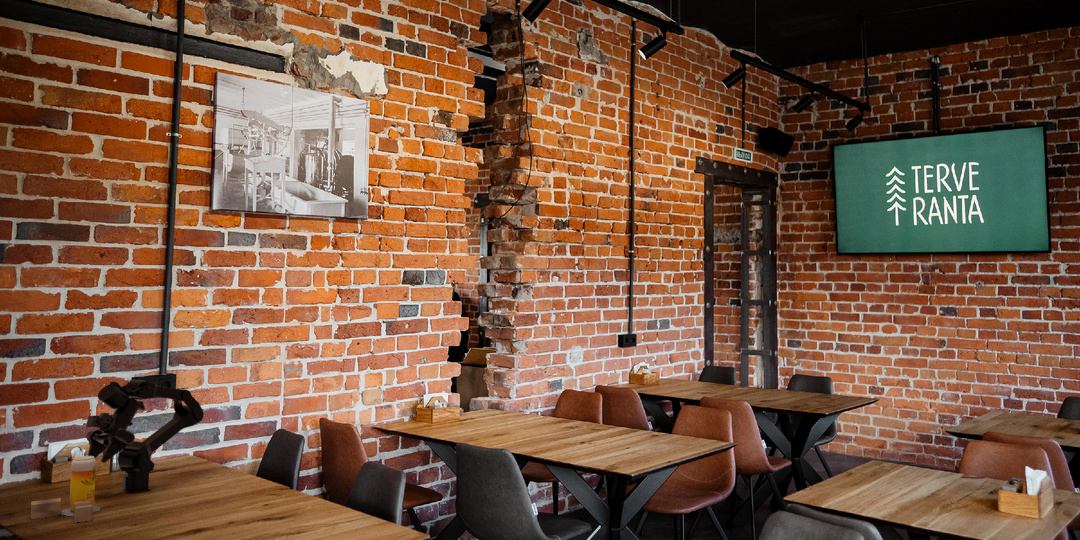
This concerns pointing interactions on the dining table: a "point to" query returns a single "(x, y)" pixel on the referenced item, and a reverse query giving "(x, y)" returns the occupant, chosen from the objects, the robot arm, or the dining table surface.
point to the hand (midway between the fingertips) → (94, 462)
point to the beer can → (82, 480)
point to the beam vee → (53, 508)
